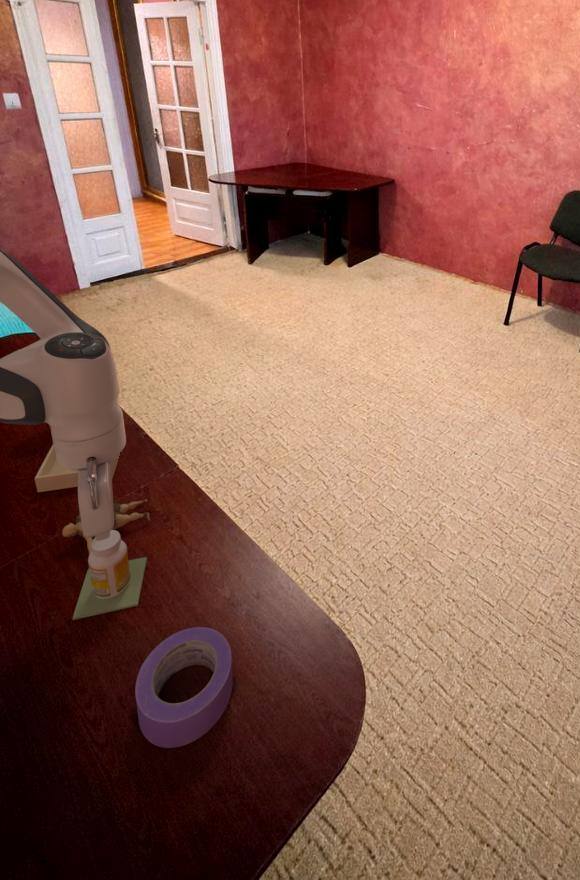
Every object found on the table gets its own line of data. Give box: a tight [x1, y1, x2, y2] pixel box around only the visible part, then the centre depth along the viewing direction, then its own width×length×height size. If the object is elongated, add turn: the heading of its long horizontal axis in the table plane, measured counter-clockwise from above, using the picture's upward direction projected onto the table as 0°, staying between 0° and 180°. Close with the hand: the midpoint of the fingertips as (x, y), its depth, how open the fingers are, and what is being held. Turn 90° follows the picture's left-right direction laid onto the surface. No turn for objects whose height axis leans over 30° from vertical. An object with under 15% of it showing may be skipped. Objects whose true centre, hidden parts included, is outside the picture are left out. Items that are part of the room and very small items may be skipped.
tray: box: [34, 444, 121, 493], centre depth 105 cm, size 13×13×4 cm
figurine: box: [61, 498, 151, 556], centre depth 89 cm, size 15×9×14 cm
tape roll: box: [134, 626, 234, 749], centre depth 65 cm, size 12×12×5 cm
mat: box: [72, 556, 148, 621], centre depth 79 cm, size 9×9×1 cm
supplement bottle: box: [87, 529, 130, 599], centre depth 78 cm, size 5×5×10 cm
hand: (102, 513), depth 75 cm, fingers open, 8 cm apart
